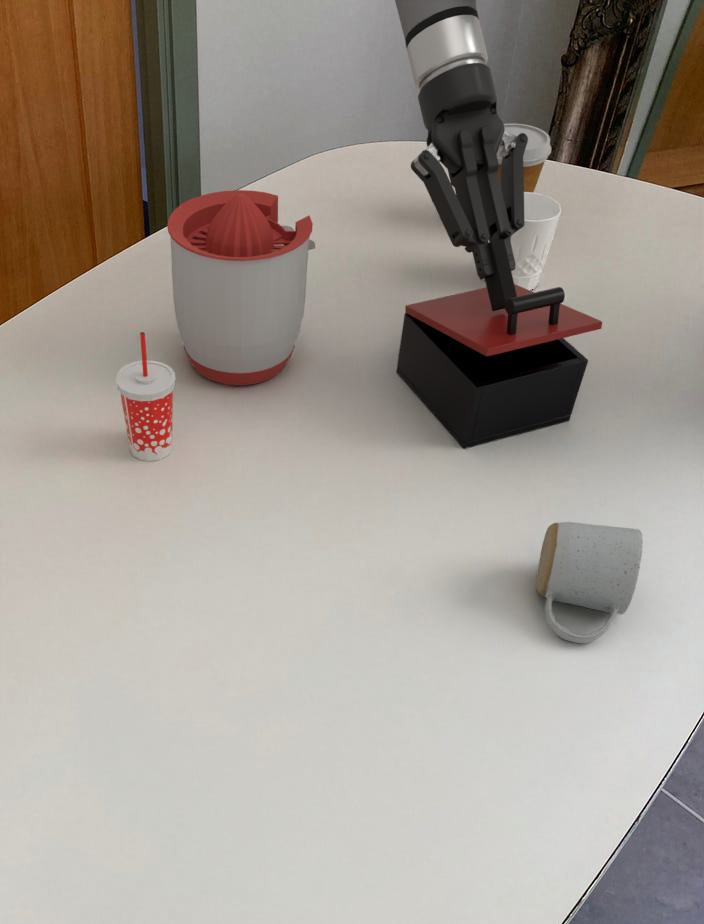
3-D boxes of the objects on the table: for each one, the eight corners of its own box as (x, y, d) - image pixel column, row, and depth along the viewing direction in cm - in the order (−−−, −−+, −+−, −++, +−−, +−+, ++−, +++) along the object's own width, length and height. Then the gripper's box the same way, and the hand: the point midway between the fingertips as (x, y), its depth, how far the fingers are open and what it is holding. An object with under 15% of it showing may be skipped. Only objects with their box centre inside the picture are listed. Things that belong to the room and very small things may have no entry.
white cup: (531, 302, 127) (550, 226, 119) (473, 286, 130) (487, 211, 122) (550, 274, 131) (569, 200, 124) (493, 260, 134) (509, 186, 127)
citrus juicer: (342, 364, 118) (358, 197, 103) (222, 414, 112) (221, 244, 96) (264, 307, 127) (269, 145, 111) (149, 351, 120) (137, 185, 105)
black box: (569, 420, 110) (588, 360, 105) (463, 449, 107) (476, 387, 101) (495, 348, 120) (509, 289, 114) (395, 372, 117) (404, 312, 111)
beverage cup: (190, 450, 107) (185, 335, 97) (144, 473, 105) (134, 358, 94) (156, 423, 111) (149, 310, 100) (111, 445, 108) (98, 331, 97)
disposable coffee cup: (539, 215, 142) (560, 128, 133) (524, 245, 137) (545, 156, 128) (474, 203, 145) (490, 117, 136) (457, 232, 139) (472, 144, 130)
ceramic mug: (534, 558, 96) (553, 498, 90) (621, 573, 95) (647, 513, 89) (527, 639, 89) (547, 580, 83) (621, 656, 88) (648, 597, 82)
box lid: (601, 329, 101) (607, 285, 99) (486, 356, 98) (489, 312, 96) (509, 289, 114) (512, 249, 112) (405, 312, 111) (405, 272, 108)
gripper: (488, 88, 107) (538, 304, 109) (381, 106, 104) (434, 328, 106) (526, 50, 100) (578, 283, 102) (412, 68, 97) (468, 307, 99)
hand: (505, 306), depth 104 cm, fingers closed
